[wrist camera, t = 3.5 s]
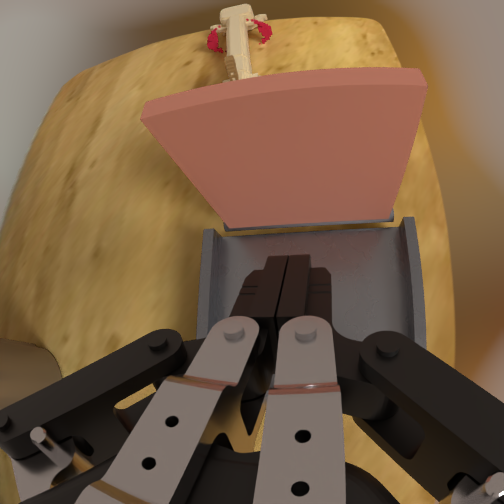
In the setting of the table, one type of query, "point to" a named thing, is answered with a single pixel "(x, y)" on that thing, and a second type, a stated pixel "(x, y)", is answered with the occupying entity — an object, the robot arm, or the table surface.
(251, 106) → the flat pink square board
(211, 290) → the grey open box
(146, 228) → the table surface
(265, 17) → the cream blocky figure
